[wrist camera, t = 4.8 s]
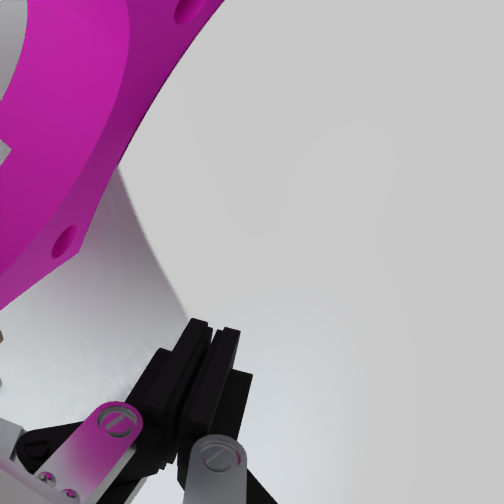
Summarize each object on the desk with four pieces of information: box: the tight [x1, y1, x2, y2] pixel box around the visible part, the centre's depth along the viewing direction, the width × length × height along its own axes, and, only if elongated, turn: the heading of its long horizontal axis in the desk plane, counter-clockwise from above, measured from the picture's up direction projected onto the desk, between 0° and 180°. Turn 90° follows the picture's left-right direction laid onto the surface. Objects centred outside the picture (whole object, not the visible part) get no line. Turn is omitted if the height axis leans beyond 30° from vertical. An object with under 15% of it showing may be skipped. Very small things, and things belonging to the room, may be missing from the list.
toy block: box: [0, 0, 225, 310], centre depth 9 cm, size 15×6×8 cm, turn 145°
